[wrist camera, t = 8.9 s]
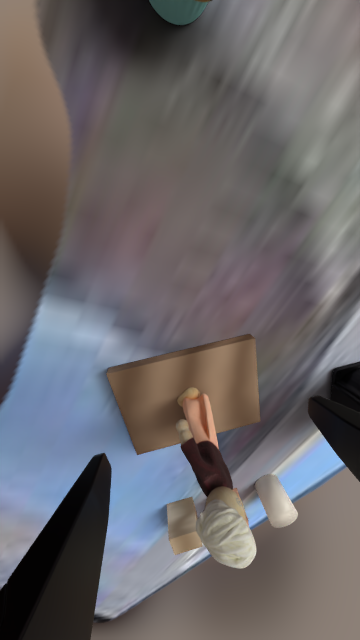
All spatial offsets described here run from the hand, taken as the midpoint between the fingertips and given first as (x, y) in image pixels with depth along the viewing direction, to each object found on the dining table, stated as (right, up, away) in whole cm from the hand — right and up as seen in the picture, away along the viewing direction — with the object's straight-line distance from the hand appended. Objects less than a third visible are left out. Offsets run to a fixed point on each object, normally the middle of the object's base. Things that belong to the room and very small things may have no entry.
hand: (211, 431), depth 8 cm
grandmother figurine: (0, -4, +14) cm, 15 cm away
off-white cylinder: (+13, -22, +23) cm, 34 cm away
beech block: (-1, -25, +22) cm, 33 cm away
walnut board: (0, -4, +15) cm, 16 cm away
